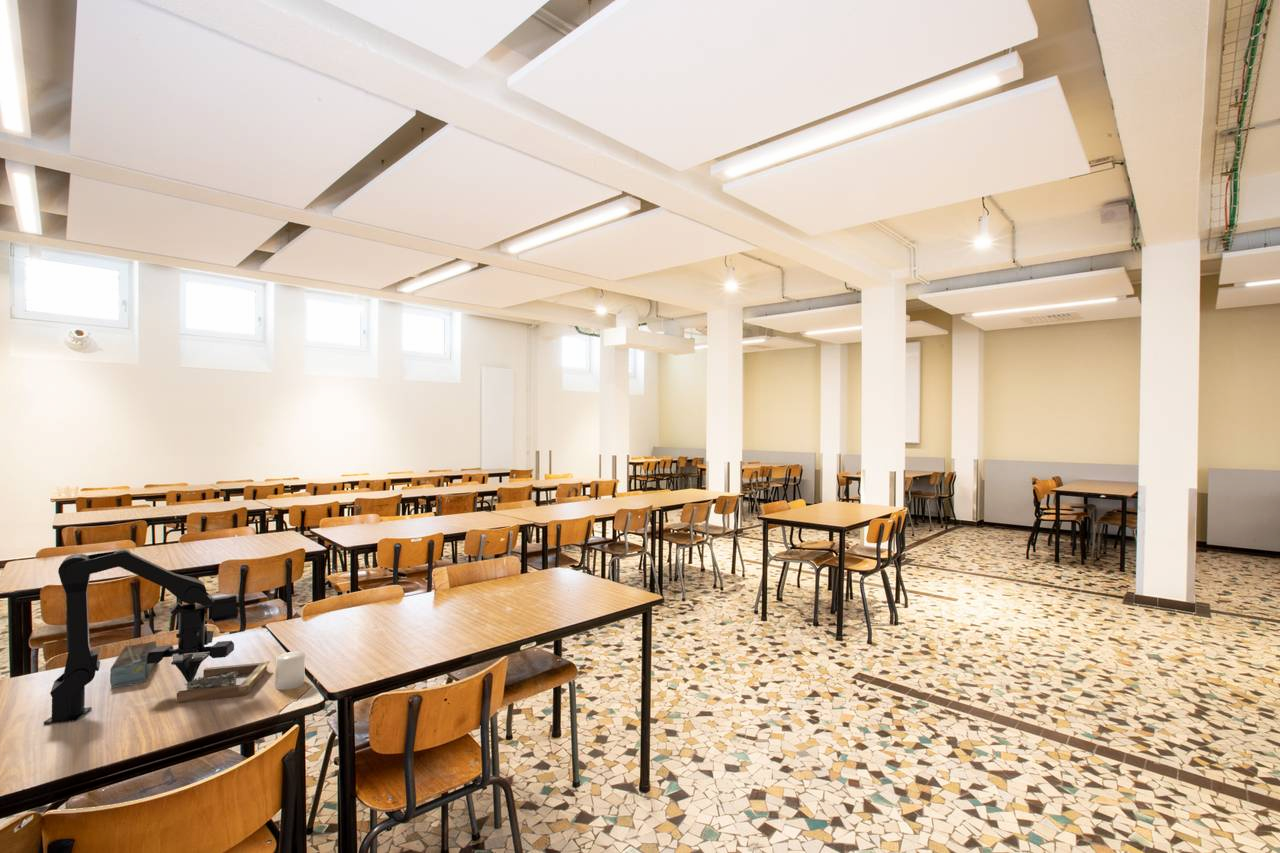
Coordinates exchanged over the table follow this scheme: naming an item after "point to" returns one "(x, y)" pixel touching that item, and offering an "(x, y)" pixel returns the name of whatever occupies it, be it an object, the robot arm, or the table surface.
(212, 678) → the egg carton
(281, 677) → the off-white rounded cube
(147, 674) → the grey-green printed box
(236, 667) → the frame
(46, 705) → the table surface
